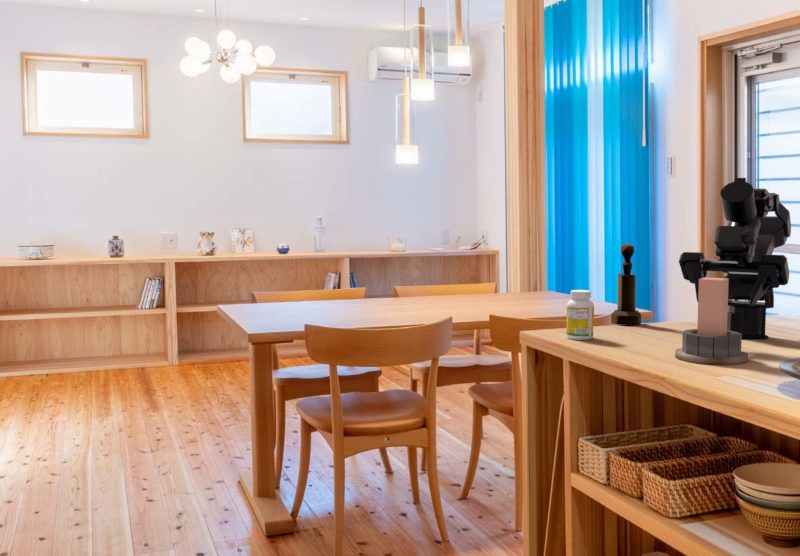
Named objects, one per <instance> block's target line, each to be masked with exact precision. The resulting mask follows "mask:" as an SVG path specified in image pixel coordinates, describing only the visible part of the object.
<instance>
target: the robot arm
mask: <svg viewBox="0 0 800 556" xmlns="http://www.w3.org/2000/svg"><path fill="white" fill-rule="evenodd" d="M720 199H721V205H722V209H723V214H724V218H725V220H726V221H728V223H727V225H718V226H716V227H715V236H714V245H716V249H715V254H716V257H718V259H713V258H711V259H707V258H705V254H704V252H699V251H698V252H697V251H695V252H693V251H683V252H682V253H681V254H680V257H679V260H678V264H679V266H680V271H681V274H682V278H683V279H684V280H686V281H689V283H690V284H694V287H695V288H694V289H695V296H696V302H697V303H698V293H699V279H701V278H705V277H707V274H708V272H722V273H723V274H726V275H724V276H723V278H728V279H729V283H728V307H729V308H728V313H727V330H729V331H735V332H738V333H741V334H742V339H769V337H770V336H769V335H767V334H766V321H767V319H766V318H767V309H773V308H775V307H774V306H775V295H774V289H777V288H779V287H780V286H786V285H788V283H789V279H790V269H789V263H788V261H789V260H788V258H787V256H785V255H784V254H773V253H774V251H775V249H777V248H779V247H782V246H784V245H785V244H786V242H787V240H788V238H791V233H792V223H791V222H792V221H791V213H790V211H789V210H788V208H786V207H785V206H784V204H782V203H781V201H780V194H779V193H775V192H770V191H768V190H767V189H766V188H754V187H753V185H752V184H751V183H749V182H747V178H746V177H734V180H733V181H732V182H730V183H729V182H728V183H727V184H726V185H724V186H723V188H721V189H720ZM770 212H771V213H772V212H773V213H774V215H775V216H772V215H771V216H768V214H769V213H770ZM758 301H759V302H758ZM763 301H764V302H763Z"/></svg>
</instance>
